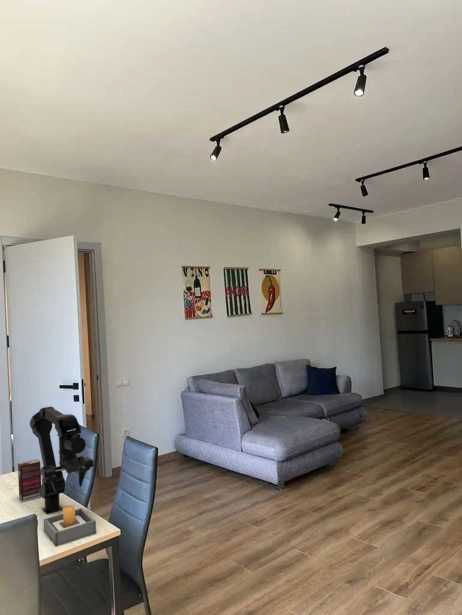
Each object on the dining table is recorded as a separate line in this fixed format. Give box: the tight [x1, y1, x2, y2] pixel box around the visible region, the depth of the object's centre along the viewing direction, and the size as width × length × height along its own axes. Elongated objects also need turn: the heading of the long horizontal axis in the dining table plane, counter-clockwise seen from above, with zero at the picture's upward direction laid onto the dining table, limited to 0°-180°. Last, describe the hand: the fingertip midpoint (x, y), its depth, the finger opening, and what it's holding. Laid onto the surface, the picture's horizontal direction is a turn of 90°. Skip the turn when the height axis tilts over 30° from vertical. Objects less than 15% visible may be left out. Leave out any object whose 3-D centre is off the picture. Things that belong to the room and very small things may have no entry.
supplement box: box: [17, 459, 42, 503], centre depth 198 cm, size 9×5×16 cm, turn 128°
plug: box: [62, 505, 76, 528], centre depth 163 cm, size 4×4×8 cm
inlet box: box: [43, 507, 97, 547], centre depth 163 cm, size 15×14×4 cm
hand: (68, 489), depth 173 cm, fingers open, 9 cm apart
